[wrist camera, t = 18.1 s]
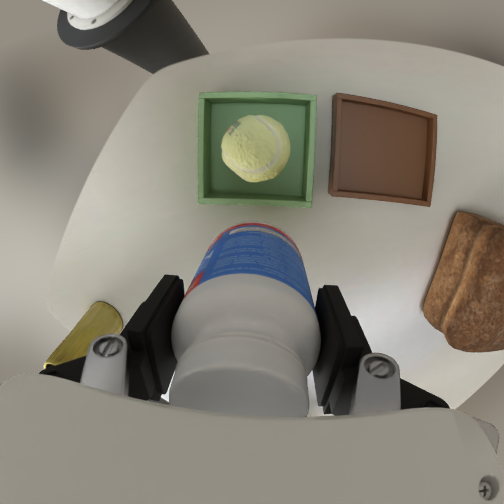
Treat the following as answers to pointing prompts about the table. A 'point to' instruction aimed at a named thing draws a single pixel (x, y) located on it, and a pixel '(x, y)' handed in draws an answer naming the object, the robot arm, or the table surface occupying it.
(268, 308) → the pill bottle
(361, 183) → the walnut tray
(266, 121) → the tennis ball
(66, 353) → the vase
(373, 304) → the table surface
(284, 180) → the green bin
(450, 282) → the bread
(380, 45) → the table surface
